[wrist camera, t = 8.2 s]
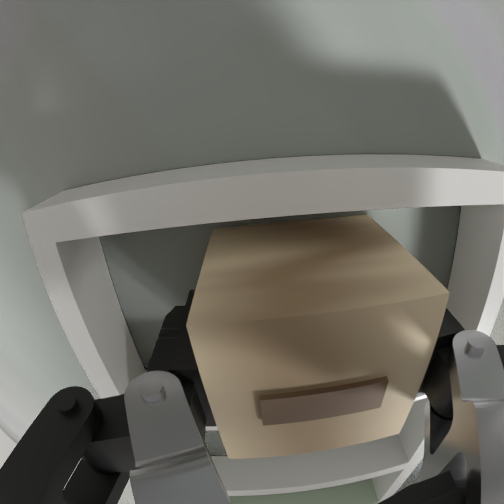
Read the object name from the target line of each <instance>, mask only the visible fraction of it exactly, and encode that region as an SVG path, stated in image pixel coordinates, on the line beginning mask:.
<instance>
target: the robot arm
mask: <svg viewBox="0 0 504 504" xmlns="http://www.w3.org/2000/svg"><path fill="white" fill-rule="evenodd" d="M195 290H196V289H194V290H190V292H189V295H188V299H187V302H186V305H185V306H175V307H174V308H173V309H172V310H171V311H170V312H169V313H168V314H167V315H166V317H165V320H164V322H163V325H162V330H161V331H160V334H159V339H157V342H156V345H155V348H154V351H153V354H152V357H151V360H150V363H149V366H148V369H147V372H146V373H143V374H141V375H139V376H137V377H136V378H134V379H133V380H132V381H131V382H130V383H129V384H128V386H127V387H126V390H125V393H124V394H121V395H118V396H113V397H107V398H102V399H97V400H95V399H94V398H93V396H92V395H91V393H90V392H89V391H88V390H86V389H85V388H82V387H76V386H74V387H68V388H65V389H62V390H60V391H59V392H57V393H56V394H55V395H54V396H53V397H52V398H51V399H50V400H49V402H48V403H47V404H46V405H45V407H44V408H43V409H42V411H41V412H40V414H39V415H38V416H37V418H36V419H35V420H34V422H33V423H32V424H31V426H30V427H29V429H28V430H27V431H26V433H25V434H24V436H23V437H22V438H21V440H20V441H19V443H18V444H17V445H16V447H15V448H14V450H13V451H12V453H11V454H10V456H9V457H8V459H7V460H6V462H5V463H4V465H3V466H2V468H1V469H0V504H117V503H118V501H119V499H120V497H121V495H122V493H123V490H124V488H125V486H126V484H127V482H128V480H129V478H130V483H131V488H132V492H133V496H134V500H135V504H232V502H231V500H230V498H229V496H228V494H227V492H226V489H225V487H224V485H223V483H222V481H221V479H220V477H219V474H218V472H217V470H216V468H215V465H214V463H213V461H212V459H211V456H210V454H209V452H208V449H207V447H206V444H205V442H204V440H205V430H206V426H217V425H216V422H215V419H214V416H213V413H212V410H211V407H210V404H209V401H208V398H207V395H206V392H205V389H204V386H203V382H202V379H201V376H200V373H199V369H198V366H197V362H196V359H195V356H194V352H193V349H192V345H191V342H190V338H189V334H188V331H187V327H186V324H187V320H188V316H189V312H190V308H191V305H192V301H193V297H194V293H195ZM423 395H426V396H427V398H428V402H427V404H426V406H425V435H424V458H423V464H422V467H421V470H420V472H419V475H418V478H417V481H416V483H415V484H412V485H410V486H408V487H406V488H404V489H403V490H401V491H399V492H398V493H396V494H394V495H392V496H391V497H389V498H387V499H385V500H383V501H381V502H380V503H378V504H504V345H496V344H495V342H494V341H493V340H492V339H491V338H490V337H489V336H488V335H486V334H484V333H482V332H480V331H476V330H465V329H464V328H463V327H462V325H461V324H460V323H459V322H458V321H457V319H456V318H455V317H454V316H453V315H452V314H451V312H450V311H449V310H448V309H447V308H446V310H445V314H444V317H443V321H442V324H441V328H440V331H439V334H438V338H437V341H436V344H435V347H434V350H433V353H432V356H431V359H430V362H429V365H428V367H427V370H426V373H425V375H424V378H423V381H422V383H421V386H420V388H419V391H418V393H417V396H416V398H417V397H420V396H423ZM81 458H82V459H81ZM80 459H81V461H80ZM79 461H80V462H79ZM78 462H79V464H78ZM77 464H78V466H77ZM76 466H77V468H76V469H75V467H76ZM74 469H75V471H74ZM73 471H74V473H73ZM72 473H73V474H72ZM71 474H72V476H71ZM70 476H71V478H70ZM69 478H70V480H69V481H68V479H69ZM67 481H68V483H67ZM66 483H67V485H66ZM65 485H66V487H65ZM64 487H65V488H64ZM63 489H64V490H63Z"/></svg>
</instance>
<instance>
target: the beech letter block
mask: <svg viewBox="0 0 504 504" xmlns="http://www.w3.org/2000/svg"><path fill="white" fill-rule="evenodd" d="M449 294H450V292H449V291H448V290H447V289H446V288H445V287H444V286H443V285H442V284H441V283H440V282H439V281H438V280H437V279H436V278H435V277H434V276H433V275H432V274H431V273H430V272H429V271H428V270H427V269H426V268H425V267H424V266H423V265H422V264H421V263H420V262H419V261H418V260H417V259H416V258H415V257H414V256H413V255H412V254H410V253H409V252H408V251H407V250H406V249H405V248H404V247H403V246H402V245H401V244H400V243H399V242H398V241H396V240H395V239H394V238H393V237H392V236H391V235H390V234H389V233H388V232H387V231H385V230H384V229H383V228H382V227H381V226H380V225H379V224H377V223H376V222H375V221H374V220H373V219H372V218H371V217H369V216H368V215H357V216H344V217H331V218H319V219H307V220H296V221H285V222H274V223H263V224H253V225H243V226H233V227H223V228H213V230H212V233H211V237H210V240H209V243H208V247H207V250H206V254H205V257H204V261H203V264H202V268H201V272H200V275H199V279H198V282H197V286H196V290H195V293H194V297H193V301H192V305H191V308H190V312H189V316H188V320H187V324H186V327H187V331H188V334H189V338H190V342H191V345H192V349H193V352H194V356H195V359H196V362H197V366H198V369H199V373H200V376H201V379H202V382H203V386H204V389H205V392H206V395H207V398H208V401H209V404H210V407H211V410H212V413H213V416H214V419H215V422H216V425H217V428H218V431H219V434H220V437H221V439H222V442H223V445H224V448H225V450H226V453H227V456H228V458H229V459H246V458H263V457H276V456H286V455H295V454H303V453H310V452H317V451H324V450H330V449H335V448H341V447H346V446H351V445H356V444H360V443H365V442H369V441H373V440H377V439H381V438H385V437H389V436H393V435H396V434H399V433H400V431H401V429H402V427H403V425H404V423H405V421H406V418H407V416H408V414H409V412H410V410H411V407H412V405H413V403H414V400H415V398H416V396H417V393H418V391H419V388H420V386H421V383H422V381H423V378H424V375H425V373H426V370H427V367H428V365H429V362H430V359H431V356H432V353H433V350H434V347H435V344H436V341H437V338H438V334H439V331H440V328H441V324H442V321H443V317H444V314H445V310H446V306H447V302H448V298H449Z"/></svg>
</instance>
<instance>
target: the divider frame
mask: <svg viewBox="0 0 504 504" xmlns="http://www.w3.org/2000/svg"><path fill="white" fill-rule="evenodd" d="M435 206H461V213H460V221H459V228H458V235H457V242H456V248H455V253H454V259H453V264H452V269H451V274H450V279H449V283H448V288H447V290H448V291H449V292H450V294H449V298H448V302H447V306H446V308H447V309H448V310H449V311H450V312H451V314H452V315H453V316H454V317H455V318H456V319H457V321H458V322H459V323H460V324H461V325H462V327H463V328H464V329H465V330H476V331H480V332H482V333H484V334H486V335H488V336H490V333H491V331H492V328H493V326H494V323H495V320H496V318H497V315H498V312H499V309H500V306H501V303H502V300H503V297H504V165H501V164H497V163H494V162H491V161H488V160H484V159H478V158H465V157H451V156H431V155H398V154H358V155H323V156H302V157H286V158H272V159H260V160H249V161H239V162H229V163H220V164H212V165H203V166H196V167H188V168H181V169H174V170H168V171H161V172H155V173H149V174H143V175H137V176H132V177H126V178H121V179H116V180H110V181H105V182H100V183H96V184H91V185H86V186H82V187H77V188H73V189H69V190H64V191H62V192H60V193H58V194H56V195H54V196H52V197H50V198H48V199H46V200H44V201H43V202H41V203H39V204H37V205H35V206H33V207H31V208H29V209H28V210H26V211H24V212H22V213H21V214H22V218H23V222H24V225H25V229H26V232H27V236H28V239H29V242H30V246H31V249H32V252H33V255H34V258H35V261H36V264H37V267H38V269H39V272H40V275H41V278H42V280H43V283H44V286H45V288H46V291H47V293H48V296H49V298H50V301H51V303H52V305H53V308H54V310H55V312H56V315H57V317H58V319H59V321H60V324H61V326H62V328H63V330H64V332H65V334H66V336H67V338H68V340H69V342H70V345H71V347H72V348H73V350H74V352H75V354H76V356H77V358H78V360H79V362H80V364H81V366H82V367H83V369H84V371H85V373H86V375H87V376H88V378H89V380H90V382H91V383H92V385H93V387H94V388H95V390H96V392H97V393H98V395H99V397H100V398H101V399H102V398H107V397H113V396H118V395H121V394H124V393H125V390H126V387H127V386H128V384H129V383H130V382H131V381H132V380H133V379H134V378H136V377H137V376H139V375H141V374H143V373H146V372H147V370H145V369H144V366H143V364H142V362H141V359H140V357H139V355H138V352H137V350H136V347H135V345H134V342H133V340H132V337H131V334H130V332H129V329H128V326H127V324H126V321H125V318H124V315H123V313H122V310H121V307H120V304H119V301H118V298H117V295H116V292H115V289H114V286H113V283H112V280H111V277H110V273H109V270H108V267H107V263H106V260H105V256H104V253H103V249H102V246H101V242H100V238H99V236H106V235H114V234H121V233H129V232H137V231H145V230H154V229H162V228H171V227H180V226H189V225H198V224H207V223H217V222H227V221H237V220H248V219H258V218H269V217H281V216H293V215H305V214H318V213H331V212H346V211H361V210H377V209H394V208H413V207H435ZM427 402H428V398H427V396H426V395H423V396H420V397H417V398H415V400H414V403H413V405H412V407H411V410H410V412H409V414H408V416H407V418H406V421H405V423H404V425H403V427H402V429H401V431H400V433H399V434H396V435H393V436H389V437H385V438H381V439H377V440H373V441H369V442H365V443H360V444H356V445H351V446H346V447H341V448H335V449H330V450H324V451H317V452H310V453H303V454H295V455H286V456H276V457H263V458H246V459H229V458H228V456H211V459H212V461H213V463H214V465H215V468H216V470H217V472H218V474H219V477H220V479H221V481H222V483H223V485H224V487H225V489H226V492H227V494H228V496H229V498H230V500H231V502H232V504H378V503H380V502H381V501H383V500H385V499H387V498H389V497H391V496H392V495H394V494H395V492H396V491H397V490H398V489H399V488H400V487H401V485H402V484H403V483H404V482H405V480H406V479H407V478H408V477H409V475H410V474H411V473H412V471H413V470H414V469H415V468H416V466H417V465H418V464H419V462H420V461H421V459H422V458H423V457H424V435H425V406H426V404H427ZM206 430H218V428H217V426H206ZM370 478H372V479H370ZM366 479H368V480H366ZM362 480H364V481H362ZM358 481H359V482H358ZM353 482H355V483H353ZM349 483H350V484H349ZM344 484H346V485H344ZM339 485H341V486H339ZM333 486H335V487H333ZM328 487H330V488H328ZM322 488H324V489H322ZM315 489H318V490H315ZM308 490H311V491H308ZM301 491H304V492H301ZM292 492H296V493H292ZM282 493H286V494H282ZM270 494H275V495H270ZM253 495H261V496H253Z"/></svg>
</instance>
